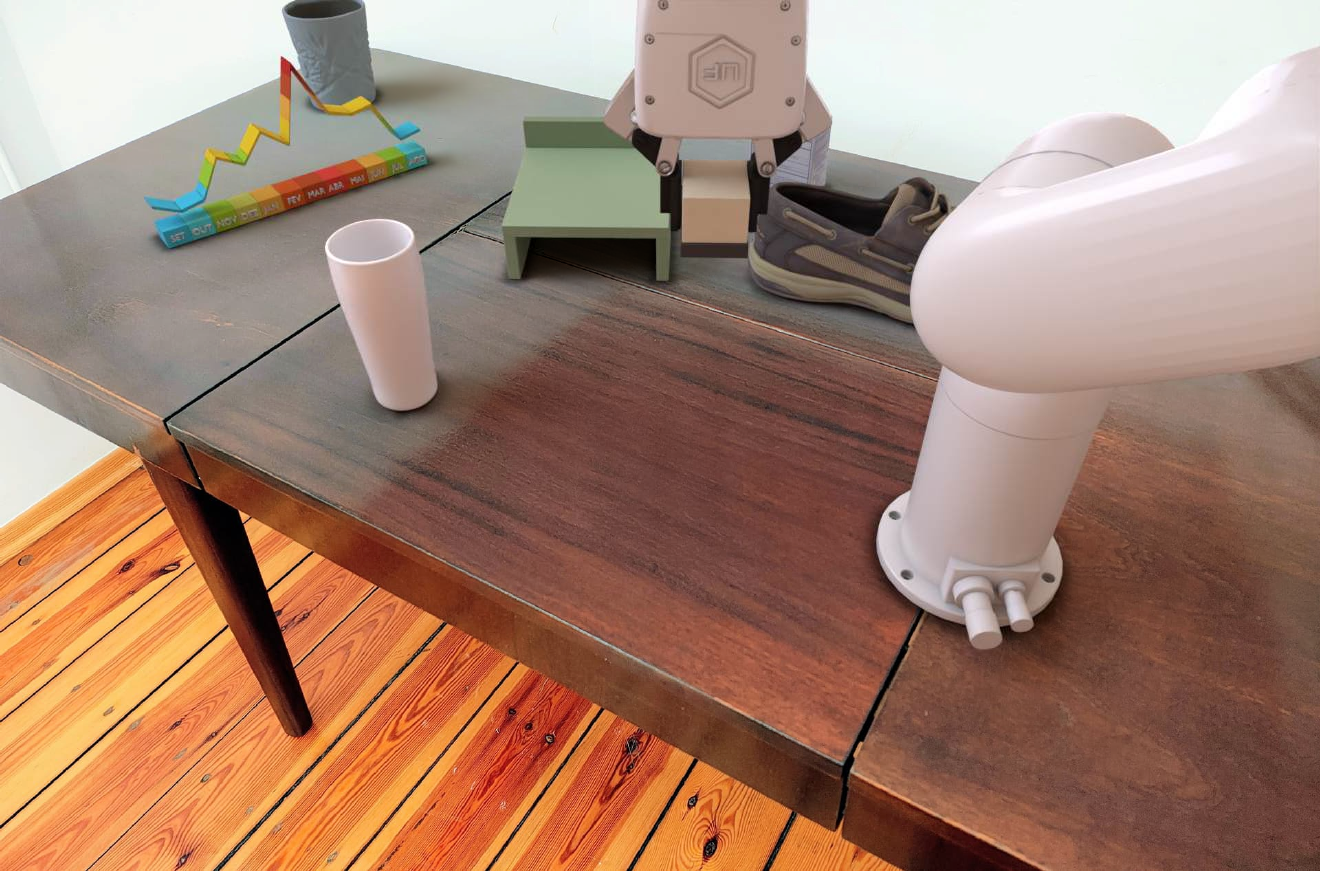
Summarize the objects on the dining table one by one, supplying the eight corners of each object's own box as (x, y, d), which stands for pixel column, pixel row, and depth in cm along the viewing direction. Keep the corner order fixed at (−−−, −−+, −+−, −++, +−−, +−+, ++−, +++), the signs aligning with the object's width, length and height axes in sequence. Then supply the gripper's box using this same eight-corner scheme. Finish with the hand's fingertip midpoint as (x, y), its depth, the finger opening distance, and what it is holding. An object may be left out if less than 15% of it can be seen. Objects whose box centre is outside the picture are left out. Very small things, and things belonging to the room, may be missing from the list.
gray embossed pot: (293, 111, 123) (267, 16, 115) (326, 81, 131) (303, -10, 123) (366, 116, 122) (344, 21, 114) (394, 85, 129) (376, -6, 121)
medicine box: (825, 187, 107) (834, 113, 101) (808, 203, 104) (816, 129, 98) (764, 170, 110) (769, 98, 104) (746, 185, 107) (750, 112, 101)
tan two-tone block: (747, 258, 60) (752, 200, 58) (680, 257, 61) (681, 199, 58) (742, 198, 66) (746, 142, 64) (680, 197, 66) (681, 141, 64)
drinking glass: (409, 430, 77) (369, 274, 66) (350, 402, 79) (303, 248, 69) (463, 385, 81) (434, 232, 71) (405, 360, 83) (369, 209, 73)
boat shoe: (1057, 345, 84) (1093, 241, 77) (737, 310, 89) (742, 208, 82) (1045, 280, 92) (1077, 180, 85) (751, 251, 97) (758, 153, 90)
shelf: (668, 281, 93) (668, 199, 87) (508, 279, 93) (497, 197, 87) (672, 193, 106) (672, 117, 100) (532, 192, 106) (524, 116, 100)
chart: (169, 249, 98) (112, 110, 88) (160, 237, 100) (102, 99, 89) (428, 164, 112) (404, 36, 102) (415, 155, 114) (390, 28, 103)
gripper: (564, -57, 48) (584, 249, 61) (891, -55, 48) (844, 252, 60) (577, -95, 54) (592, 193, 66) (870, -93, 53) (831, 196, 66)
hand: (712, 219), depth 63 cm, fingers closed on tan two-tone block, 4 cm apart
